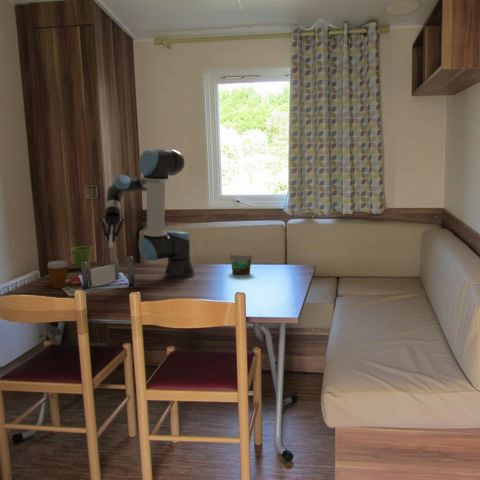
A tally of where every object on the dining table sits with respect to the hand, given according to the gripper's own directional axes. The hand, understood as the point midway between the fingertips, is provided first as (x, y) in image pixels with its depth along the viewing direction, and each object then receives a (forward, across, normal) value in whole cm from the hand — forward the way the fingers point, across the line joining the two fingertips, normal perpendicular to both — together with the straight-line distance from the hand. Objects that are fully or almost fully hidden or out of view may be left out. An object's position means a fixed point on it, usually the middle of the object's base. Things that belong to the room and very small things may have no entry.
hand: (110, 246), depth 266 cm
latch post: (+27, -12, +4) cm, 30 cm away
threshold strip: (+27, -1, +4) cm, 27 cm away
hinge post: (+27, +9, +4) cm, 29 cm away
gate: (+21, +2, 0) cm, 21 cm away
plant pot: (-6, +20, -30) cm, 36 cm away
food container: (+15, -66, -8) cm, 68 cm away
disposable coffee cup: (+22, +23, -1) cm, 32 cm away
